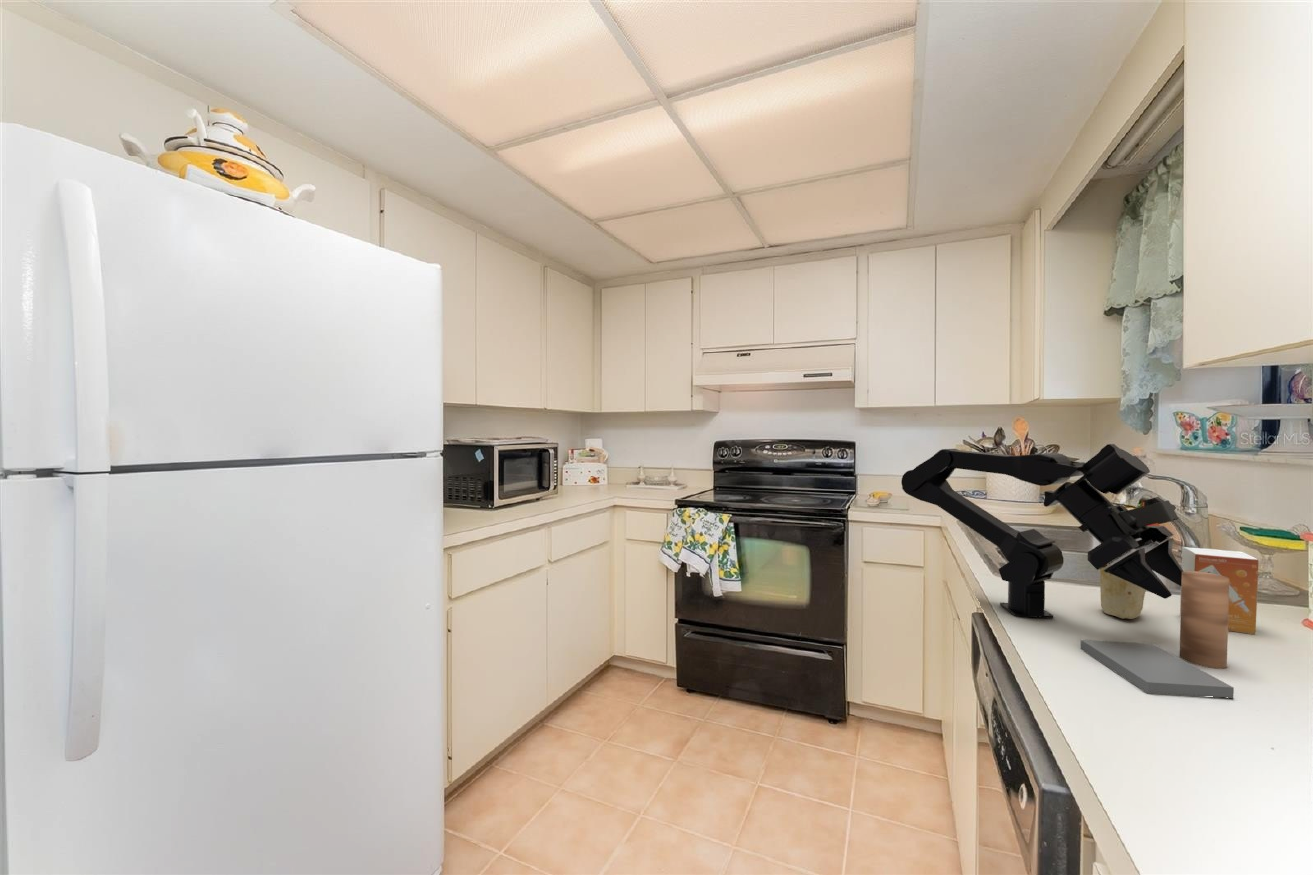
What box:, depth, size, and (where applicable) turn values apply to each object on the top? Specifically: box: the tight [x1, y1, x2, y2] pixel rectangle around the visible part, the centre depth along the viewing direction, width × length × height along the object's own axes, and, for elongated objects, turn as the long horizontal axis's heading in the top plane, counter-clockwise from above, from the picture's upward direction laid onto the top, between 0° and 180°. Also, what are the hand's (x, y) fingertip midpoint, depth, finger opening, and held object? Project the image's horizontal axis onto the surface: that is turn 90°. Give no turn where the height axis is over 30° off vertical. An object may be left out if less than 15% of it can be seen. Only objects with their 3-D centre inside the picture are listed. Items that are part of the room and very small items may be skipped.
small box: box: [1179, 546, 1260, 635], centre depth 95 cm, size 8×6×13 cm
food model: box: [1099, 507, 1147, 620], centre depth 99 cm, size 10×7×20 cm
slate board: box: [1080, 639, 1235, 699], centre depth 77 cm, size 14×10×2 cm
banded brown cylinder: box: [1179, 571, 1229, 669], centre depth 80 cm, size 5×5×13 cm
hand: (1179, 591), depth 83 cm, fingers open, 9 cm apart
